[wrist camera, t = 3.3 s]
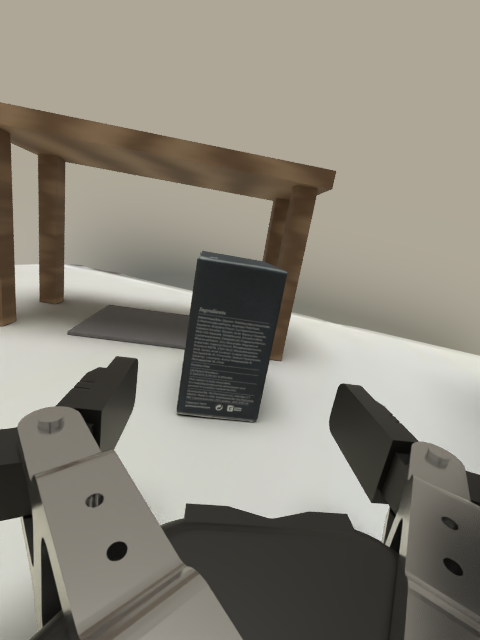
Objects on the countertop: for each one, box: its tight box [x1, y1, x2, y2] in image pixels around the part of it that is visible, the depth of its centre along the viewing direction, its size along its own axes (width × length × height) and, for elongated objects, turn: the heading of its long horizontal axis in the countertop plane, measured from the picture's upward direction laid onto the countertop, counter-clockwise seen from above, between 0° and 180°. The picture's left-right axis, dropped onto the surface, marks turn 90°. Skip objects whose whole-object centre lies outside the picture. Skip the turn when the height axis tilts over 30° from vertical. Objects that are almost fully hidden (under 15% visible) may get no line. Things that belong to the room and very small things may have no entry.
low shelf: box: [0, 103, 336, 361], centre depth 34 cm, size 32×14×19 cm, turn 94°
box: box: [177, 251, 287, 422], centre depth 22 cm, size 8×6×11 cm
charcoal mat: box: [68, 305, 189, 349], centre depth 36 cm, size 14×12×1 cm
